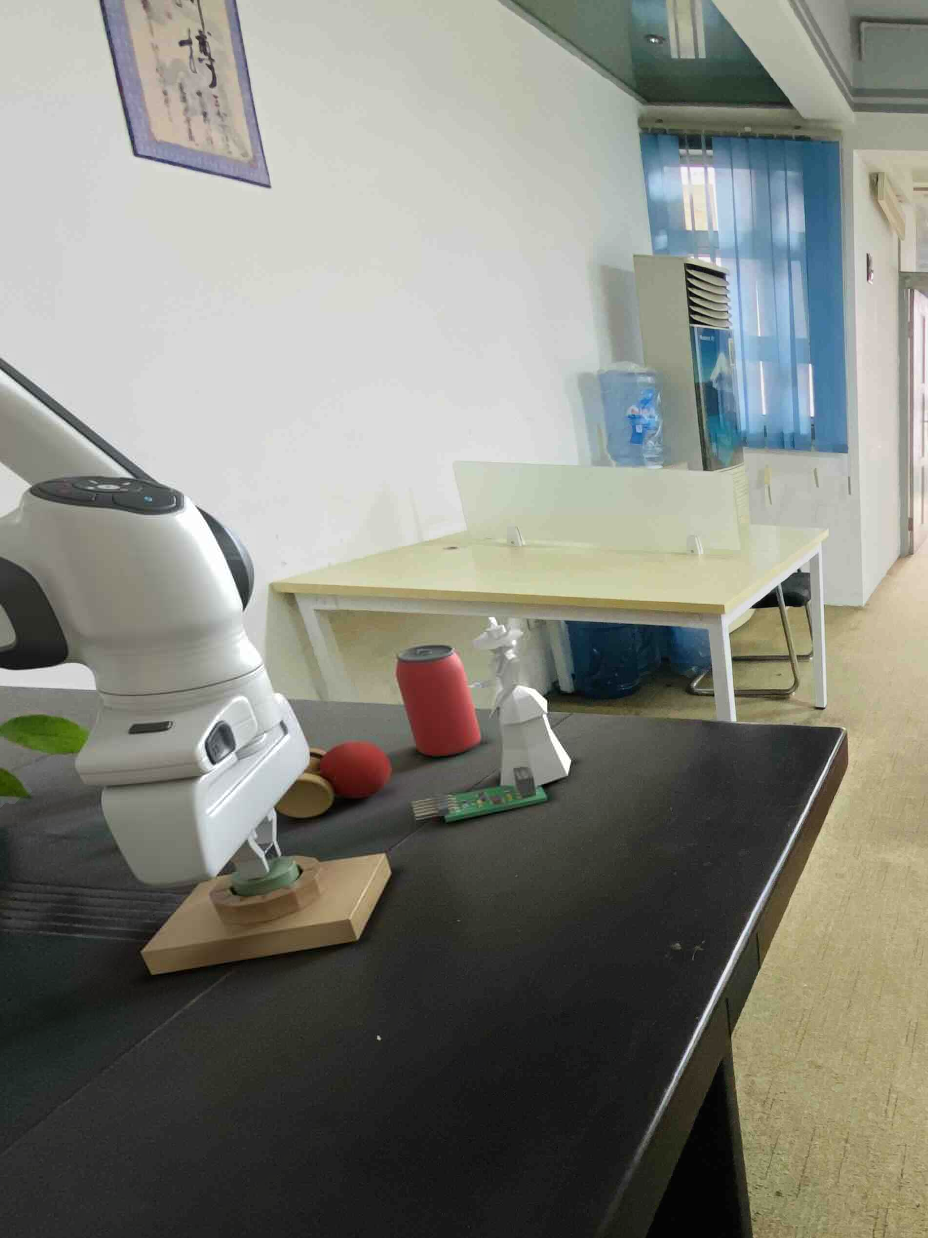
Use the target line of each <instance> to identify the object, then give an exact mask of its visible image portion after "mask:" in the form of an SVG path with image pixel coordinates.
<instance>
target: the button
mask: <svg viewBox="0 0 928 1238" xmlns="http://www.w3.org/2000/svg"><path fill="white" fill-rule="evenodd" d="M232 873H233V874H232ZM232 873H231V874H232V875H231V874H230V875H231V882H232V884H233V887H234V889H235V892H236V894H237V896H243V897H250V896H256V895H263V894H267V893H270V892H273V891H275V890H278V889H281V888H284V887H286V886H288V885H289V884H291V883H293V882H294V881H296V880H298V879H299V877H300V874H299V871H298V868H297V866H296V863H295V861H294V860H293V859H292V858H290V857H289V856H285V855H281V856H280V857H279V859H278V860H277V861H276V863H275V864H274V865H273V866H272V868H271V869H270V871H269V872H268V874H267V875H266V876H265V877H262V878H255V879H248V880H246V879H242V878H241V877H239V875H238V872H237V870H236V869H235V871H234V872H232Z"/></svg>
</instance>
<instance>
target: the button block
mask: <svg viewBox="0 0 928 1238" xmlns="http://www.w3.org/2000/svg"><path fill="white" fill-rule="evenodd" d="M288 857H290V858H292V859H293V860H294V861H295V863H296V866H297V868H298V871H299V874H300V877H299V879H298V880H296V881H294V882H293V883H291V884H289V885H288V886H286V887H284V888H281V889H278V890H275V891H273V892H270V893H267V894H263V895H256V896H250V897H243V896H237V894H236V892H235V889H234V887H233V884H232V882H231V875H232V874H233V873H234V872H232V873H230V874H226V875H224V874H223V875H217V876H216V877H215V878H214V879H212V880H210V881H207V882H203V883H198V884H197V885H196V887H195V888H194V889H193V890H192V892H190V894H189V895H188V896H187V897H186V898H185V900H184V901H182V903H181V904H180V905H179V907H178V908H177V909H176V910H175V911H174V912H173V914H172V915H171V916H170V917H169V918H168V920H167V921H166V922H165V923H164V924H163V925H162V926H161V928H160V929H159V930H158V931H157V932H156V934H155V935H154V936H153V937H152V938H151V939H150V940H149V942H148V943H147V944H146V945H145V947H144V948H143V949H142V950H141V951H140V955H141V957H142V959H143V961H144V962H145V965H146V966H147V969H148V970H149V973H150V974H151V975H152V976H155V975H161V974H166V973H168V974H169V973H172V972H180V971H185V970H190V969H197V968H203V967H208V966H214V965H221V964H226V963H233V962H238V961H245V960H250V959H257V958H263V957H268V956H274V955H280V954H286V953H292V952H298V951H304V950H310V949H316V948H321V947H322V948H323V947H328V946H333V945H334V946H335V945H340V944H346V943H347V944H348V943H352V942H357V941H359V939H360V937H361V935H362V933H363V931H364V929H365V926H366V925H367V922H368V921H369V919H370V917H371V915H372V912H373V911H374V909H375V907H376V905H377V903H378V901H379V899H380V897H381V895H382V893H383V891H384V889H385V887H386V886H387V883H388V881H389V879H390V877H391V875H392V871H391V868H390V864H389V861H388V858H387V855H386V853H375V854H370V855H369V854H368V855H363V856H362V855H361V856H355V857H348V858H340V859H333V860H326V861H319V860H318V859H317V858H316V857H309V856H304V855H289V856H288Z"/></svg>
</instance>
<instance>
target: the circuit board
mask: <svg viewBox="0 0 928 1238" xmlns="http://www.w3.org/2000/svg"><path fill="white" fill-rule="evenodd" d="M513 770H514V776H515V782H516V786H508V785H504V786H500V785H499V786H494V787H489V788H483V789H478V790H477V789H476V790H471V791H467V792H463V793H457V794H447V795H445V792H440V793H434V794H433V796H434V797H431V798H427V799H426V798H425V799H420V800H416V801H411V805H412V806H411V807H412V808H413V809H412V811H413V814H414V817H415V818H414V820H415V821H417V820H423V819H427V818H432V817H433V818H434V817H438V816H439V817H444V820H445V823H449V822H455V821H458V820H463V819H468V818H472V817H477V816H483V815H487V814H492V813H493V814H494V813H497V812H503V811H507V810H512V809H517V808H522V807H527V806H531V805H535V804H539V803H543V802H547V801H548V796H547V794H546V793H545V791H544V788H543V787H542V785H539V786H536V787H535V783H534V777H533V775H532V773H531V771H530V769H529V768H528V767H526V768H525V767H519V768H513Z"/></svg>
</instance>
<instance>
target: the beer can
mask: <svg viewBox="0 0 928 1238" xmlns="http://www.w3.org/2000/svg"><path fill="white" fill-rule="evenodd" d="M395 657H396V659H397V661H396V662H397V663H396V666H395V667H396V668H395V678H396V681H397V685H398V687H399V692H400V694H401V699H402V702H403V705H404V709H405V713H406V716H407V720H408V723H409V726H410V730H411V733H412V737H413V741H414V744H415V747H416V750H417V751H418V752H419V753H421V754H422V755H425V756H429V757H449V756H456V755H458V754H462V753H465V752H468V751H470V750H472V749H473V748H476V746H478V744H479V743H480V742H481V739H482V735H481V731H480V727H479V722H478V718H477V714H476V711H475V706H474V703H473V698H472V694H471V690H470V687H468V686H469V683H468V678H467V674H466V670H465V665H464V664H463V661H462V660H461V659H460V657H459V656H458V655H457V653H456V652H455V648H454V647H453V646H451V645H446V644H426V645H425V644H423V645H419V646H413V647H409V648H405V649H403V650H401V651H400V652H398V653H397V654H396V656H395Z"/></svg>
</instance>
